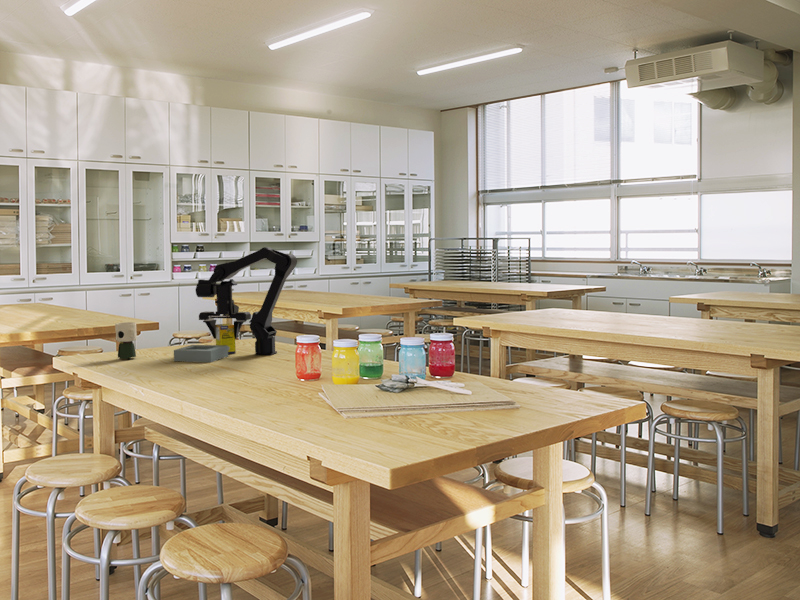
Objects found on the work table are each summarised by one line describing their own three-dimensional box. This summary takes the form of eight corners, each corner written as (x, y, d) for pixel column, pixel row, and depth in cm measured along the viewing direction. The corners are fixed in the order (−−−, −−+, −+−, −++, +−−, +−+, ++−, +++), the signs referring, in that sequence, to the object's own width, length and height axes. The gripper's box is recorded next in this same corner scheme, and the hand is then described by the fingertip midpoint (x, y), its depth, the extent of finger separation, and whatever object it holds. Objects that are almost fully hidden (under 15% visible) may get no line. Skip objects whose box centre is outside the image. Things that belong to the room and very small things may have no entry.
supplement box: (236, 353, 267) (235, 324, 267) (220, 354, 264) (219, 325, 264) (231, 351, 273) (230, 323, 272) (215, 352, 270) (215, 324, 269)
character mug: (110, 358, 257) (108, 323, 256) (128, 356, 263) (127, 321, 262) (125, 361, 250) (123, 325, 249) (143, 359, 255) (142, 323, 254)
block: (228, 356, 261) (227, 345, 261) (211, 362, 247) (210, 350, 247) (192, 355, 263) (192, 344, 263) (174, 361, 250) (173, 350, 249)
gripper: (256, 296, 273) (256, 336, 274) (210, 296, 277) (211, 335, 278) (244, 298, 262) (245, 340, 263) (197, 298, 266) (198, 339, 267)
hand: (225, 338), depth 268 cm, fingers closed on supplement box, 8 cm apart
